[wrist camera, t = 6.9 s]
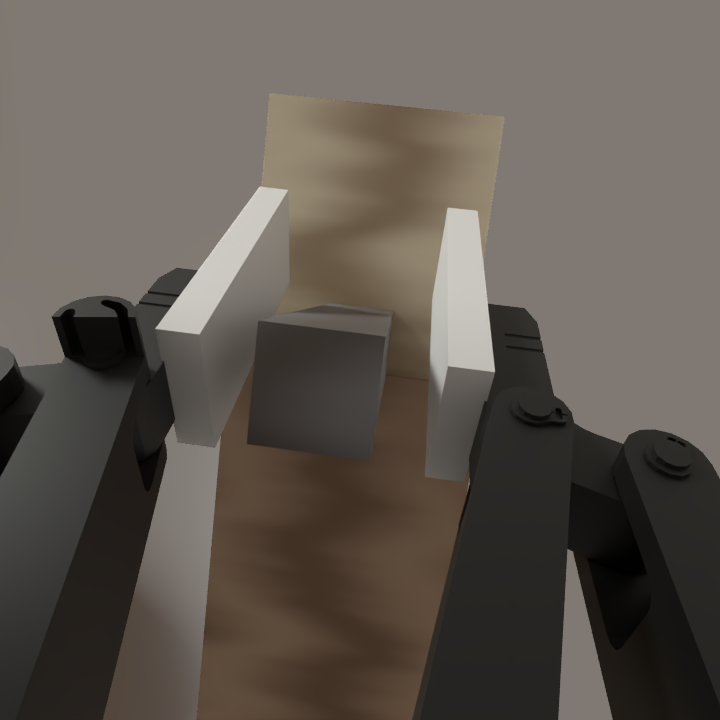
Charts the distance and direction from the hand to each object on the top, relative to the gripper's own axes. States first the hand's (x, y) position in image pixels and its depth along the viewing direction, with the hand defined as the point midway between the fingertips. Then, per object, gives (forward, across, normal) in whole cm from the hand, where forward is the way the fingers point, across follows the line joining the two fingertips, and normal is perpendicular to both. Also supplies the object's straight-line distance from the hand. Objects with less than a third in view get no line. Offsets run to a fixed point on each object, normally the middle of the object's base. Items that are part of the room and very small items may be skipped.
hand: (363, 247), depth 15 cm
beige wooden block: (-1, 0, -3) cm, 4 cm away
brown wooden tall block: (-12, 0, -31) cm, 33 cm away
